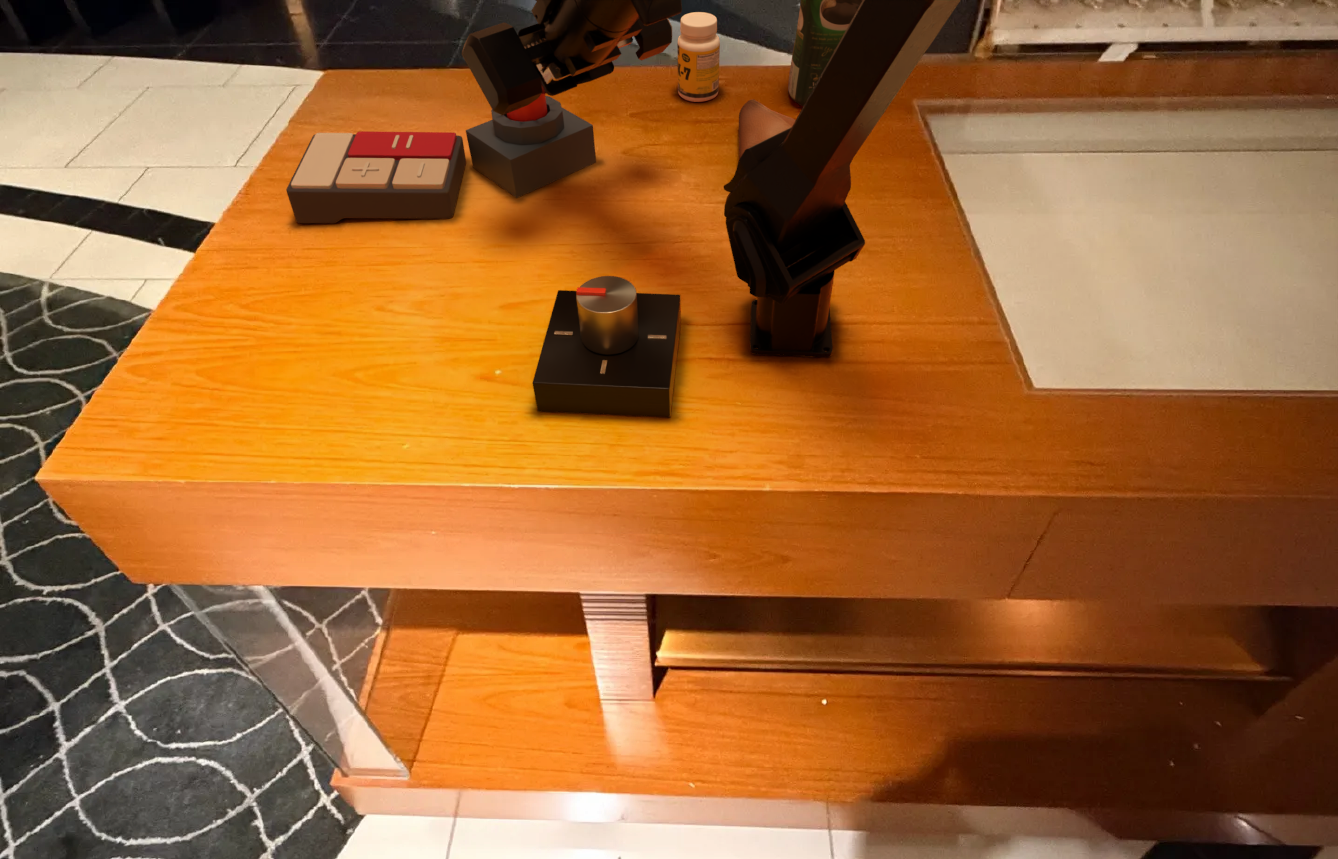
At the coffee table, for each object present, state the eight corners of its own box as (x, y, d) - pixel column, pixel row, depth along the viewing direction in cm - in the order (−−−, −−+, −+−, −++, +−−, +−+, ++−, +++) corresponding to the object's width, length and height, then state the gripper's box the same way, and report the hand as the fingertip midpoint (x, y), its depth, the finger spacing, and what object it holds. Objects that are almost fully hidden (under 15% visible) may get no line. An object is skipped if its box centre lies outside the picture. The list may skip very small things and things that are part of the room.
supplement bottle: (671, 88, 100) (670, 14, 94) (709, 81, 102) (710, 7, 95) (686, 106, 97) (686, 30, 91) (725, 98, 98) (727, 23, 92)
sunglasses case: (832, 216, 81) (801, 160, 76) (765, 248, 83) (731, 196, 79) (815, 124, 93) (788, 72, 89) (757, 154, 96) (728, 105, 92)
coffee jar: (867, 81, 101) (894, -98, 87) (875, 112, 96) (905, -73, 82) (784, 80, 101) (799, -98, 88) (787, 112, 96) (803, -72, 82)
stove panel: (670, 418, 64) (669, 387, 61) (537, 411, 64) (531, 381, 62) (680, 323, 71) (680, 292, 69) (561, 318, 72) (557, 288, 69)
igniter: (596, 163, 89) (591, 107, 85) (516, 198, 85) (507, 142, 80) (551, 135, 93) (544, 81, 89) (472, 168, 89) (461, 113, 84)
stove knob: (641, 318, 67) (639, 273, 64) (635, 355, 64) (633, 310, 61) (585, 316, 67) (580, 271, 64) (577, 353, 64) (571, 308, 61)
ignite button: (555, 114, 85) (552, 89, 83) (522, 128, 83) (518, 102, 81) (532, 100, 87) (528, 76, 85) (499, 113, 85) (494, 88, 83)
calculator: (446, 185, 80) (281, 183, 79) (453, 225, 83) (295, 224, 82) (461, 128, 87) (311, 126, 86) (467, 166, 90) (322, 165, 90)
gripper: (647, -127, 70) (577, -19, 83) (449, -74, 61) (408, 36, 75) (712, 1, 71) (633, 87, 85) (528, 70, 63) (473, 152, 77)
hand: (541, 87), depth 80 cm, fingers closed
